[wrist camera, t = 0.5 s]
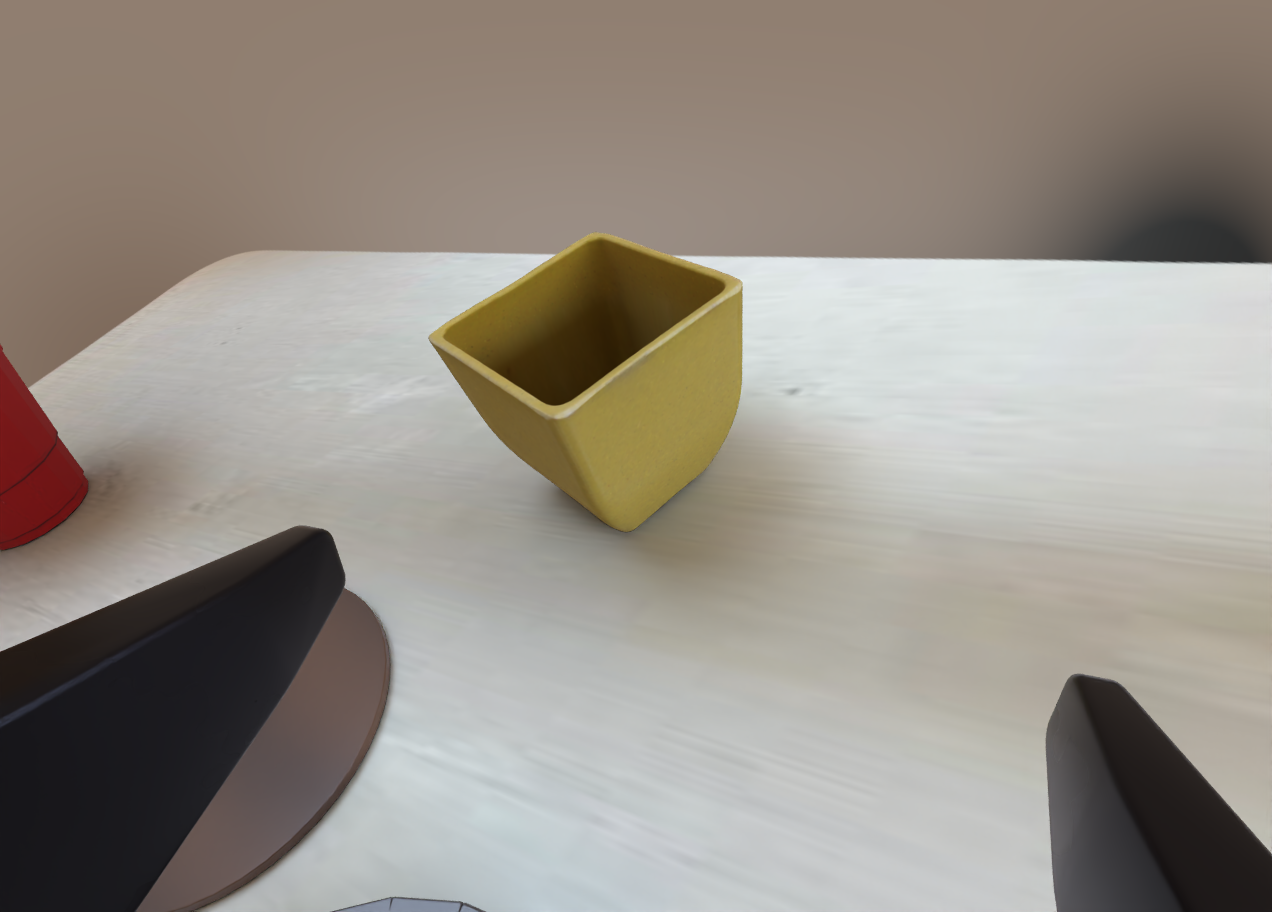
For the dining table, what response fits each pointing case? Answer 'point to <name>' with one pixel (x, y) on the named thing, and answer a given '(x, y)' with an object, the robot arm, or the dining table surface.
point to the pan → (412, 906)
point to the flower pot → (606, 371)
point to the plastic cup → (32, 466)
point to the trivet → (287, 765)
